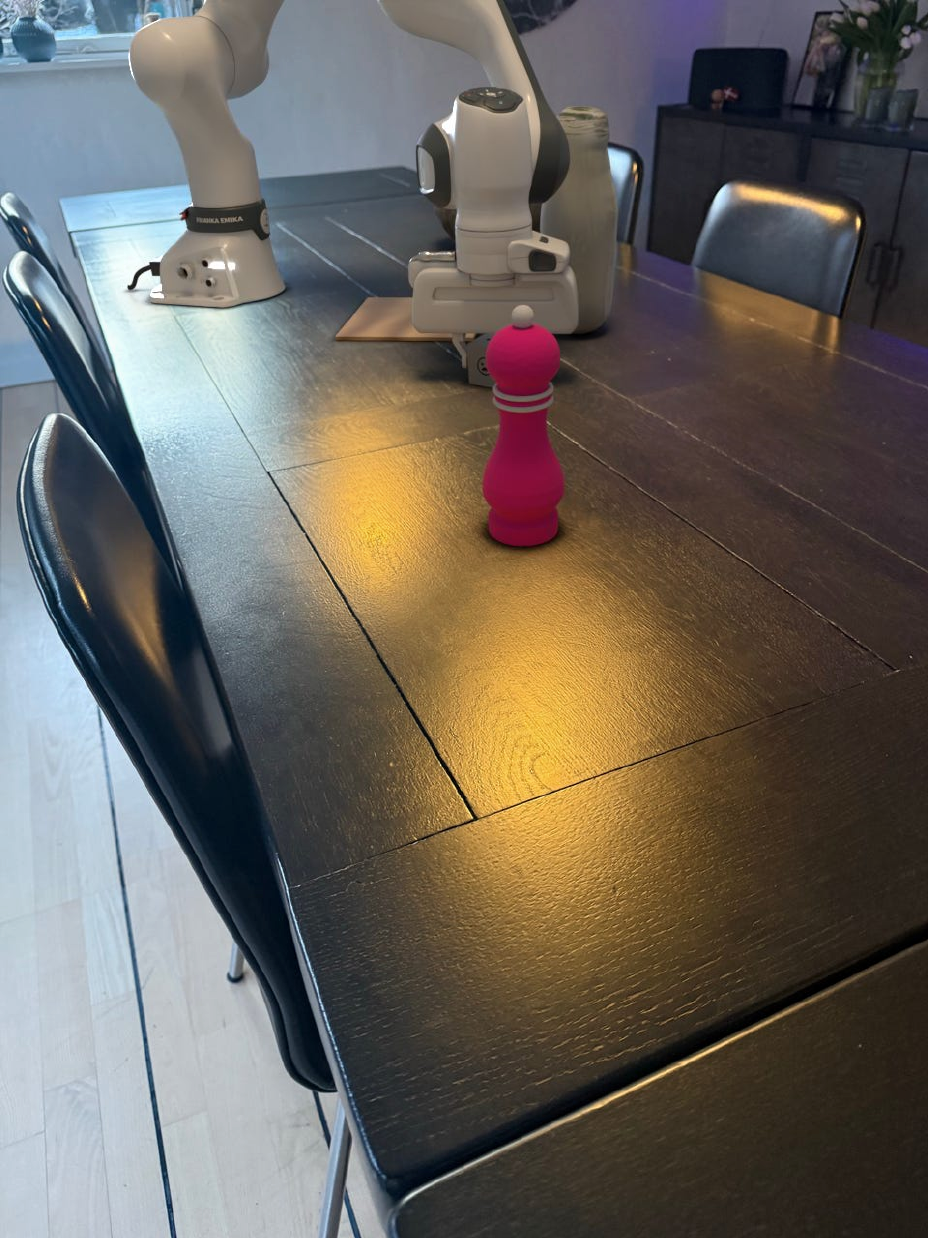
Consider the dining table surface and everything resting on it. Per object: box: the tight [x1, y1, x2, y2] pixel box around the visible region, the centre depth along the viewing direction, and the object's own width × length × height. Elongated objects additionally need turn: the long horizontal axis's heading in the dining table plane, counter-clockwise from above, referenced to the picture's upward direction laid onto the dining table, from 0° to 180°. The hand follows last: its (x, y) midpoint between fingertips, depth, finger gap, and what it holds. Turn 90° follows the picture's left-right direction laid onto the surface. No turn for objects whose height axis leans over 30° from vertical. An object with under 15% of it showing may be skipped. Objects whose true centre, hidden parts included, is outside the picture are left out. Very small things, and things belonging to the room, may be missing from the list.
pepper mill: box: [481, 305, 565, 547], centre depth 76 cm, size 7×7×20 cm
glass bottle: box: [540, 105, 619, 335], centre depth 120 cm, size 10×10×28 cm
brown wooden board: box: [335, 296, 478, 342], centre depth 135 cm, size 20×20×1 cm
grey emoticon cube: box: [466, 333, 496, 389], centre depth 111 cm, size 5×5×5 cm
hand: (496, 367), depth 112 cm, fingers closed on grey emoticon cube, 5 cm apart
